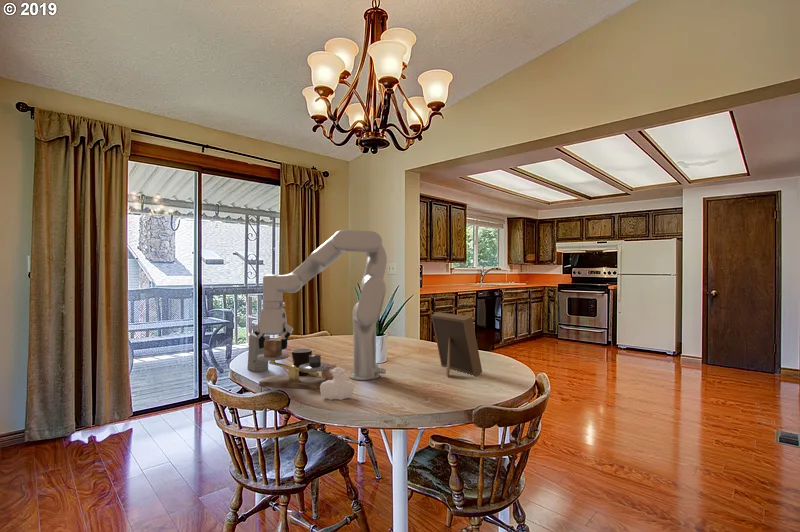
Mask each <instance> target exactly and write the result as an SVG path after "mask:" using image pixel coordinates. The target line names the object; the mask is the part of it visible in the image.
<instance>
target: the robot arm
mask: <svg viewBox="0 0 800 532" xmlns="http://www.w3.org/2000/svg"><path fill="white" fill-rule="evenodd" d="M346 252H356V253H357V252H358V253H364V255H365V257H366V262H365V263H366V264H365V267H364V272H363V276H362V279H361V282H360V286H359V290H360V296H359V300H358V302H356V303H355V305H354V306H353V309H352V335H353V336H352V340H353V341H352V352H353V353H352V355H353V356H352V357H353V358H352V364H353V365H352V367H353V368H352V370H353V371H352V372H350V373H349V376H348V377H349V378H351V379H353V380H357V381H369V380H375V379H378V378H379V377H380V376H381V374H382V375H384V374H387V372H386V371H387V370H386V368H384V367H379V364H377V326H376V324H377V322H378V321H379V319H380V316H381V312H382V310H383V309H382V308H383V305H384V301H385V296H386V290H387V286H386V283H385V281H384V277H385V273H386V269H387V263H388V262H387V260H388V258H387V257H388V256H387V253H386V250H385V248H384V246H383V238H382V237H381V235H380V234H379V233H378V232H376V231H373V230H372V231H371V230H352V229H351V230H350V229H340V230H338V231H336V232H334V234H333V235H331V237H329V238H328V239H327V240H326V241H325V242H324V243H322V244H321V245H320V246H318V247H317V248H316V249H315V250H314V251H312V252H311V253H310V255H309V256H308V257H307V258H306V259H305V260H304V261H303V262H302V263H301V264H300V265H298V266H296V268H295V269H294V270H293V271H291V272H290V273H287V274H282V275H281V274H265V275H263V278H262V308H261V310H260V314H259V315H260V316H259V323H258V324H256V325H254V326H252V329H253V332H254V334H255V335H256V336H257V338H258V339H259V349H261V348H264V341H265V337H264V335H265V334H267V335H276V336H277V335H279V336H280V337H281V338H282V339H280V340H281V349H282V351H283V350H286V349H287V348H288V339H290V336H291V335H292V333H293V331H294V327H292V326H291V325H289V324H288V319H287V312H286V309H285V308H284V307H286V302H284V296H283V295H284V293H289V294H290V293H291V294H293V293H295V294H296V293H298V292H299V291H301V289H302V287H303V286H305V285H306V284H307V283H309V282H310V280H312V279H313V278H314V277H315V276H317V275H318V274H320V273H322V272H323V271H325V270H326V269H327V268H328V267H330V266H331V265H332V264H333V263H334V262H336V261H337V260H338V259H339V258H340V257H341V256H343V255H344V254H345V253H346Z"/></svg>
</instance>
